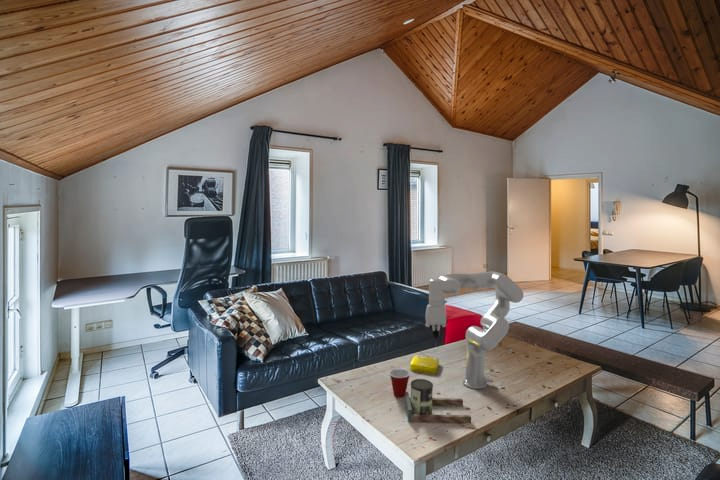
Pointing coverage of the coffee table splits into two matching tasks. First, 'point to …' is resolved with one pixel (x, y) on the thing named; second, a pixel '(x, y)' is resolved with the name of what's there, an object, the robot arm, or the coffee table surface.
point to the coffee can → (421, 397)
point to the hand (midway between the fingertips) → (435, 337)
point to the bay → (436, 418)
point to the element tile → (424, 364)
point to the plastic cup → (399, 381)
